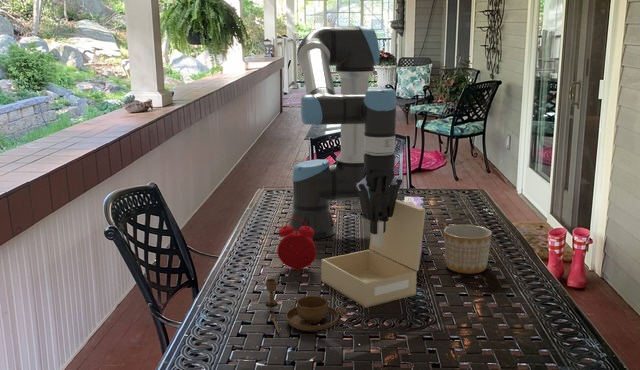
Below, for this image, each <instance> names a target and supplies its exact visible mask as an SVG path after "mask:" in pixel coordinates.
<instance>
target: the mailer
mask: <svg viewBox="0 0 640 370" xmlns="http://www.w3.org/2000/svg"><path fill="white" fill-rule="evenodd" d="M320 270H321V272H320V273H321V277H320V278H321V282H322V283H323V284H324V285H327V286H328V287H330V288H331V289H333V290H335V291H336V292H338V293H340V294H341V295H344V296H345V297H347V298H349V299H350V300H352V301H353V302H355V303H356V304H358V305H360V306H362V307H363V308H364V309H367V308H370V307H375V306H379V305H383V304H386V303H390V302H395V301H398V300H401V299H405V298H411V297H414V296H417V272H418V271H416V270H414V269H411V268H409V267H407V266H405V265H403V264H401V263H399V262H396V261H394V260H392V259H390V258H388V257H386V256H384V255H381V254H379V253H377V252H375V251H373V250H371V249H366V250H361V251H355V252H351V253H347V254H342V255H338V256H337V255H335V256H332V257H326V258H322V259H321V269H320Z"/></svg>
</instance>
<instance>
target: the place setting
mask: <svg viewBox="0 0 640 370" xmlns="http://www.w3.org/2000/svg"><path fill="white" fill-rule="evenodd" d="M265 285H266V286H265V287H266V290H267V292H269V296H268V298H269V300H268V301H266V302H265V304H266V306H269V307H273V306H277V305H278V301H277V300H274V298H275V297H274V292H275V291H276V289H277V279H275V278H267V279H266V280H265ZM328 304H329V302H328V300H327V298H325V297H322V296H318V295H307V296H303V297H300V298H299V299H297V301H296V306H294V307H291V308H290V309H289V310H287V312H286V313H285V320H286V322H287V324H289V325H290V326H291V327H292V328H295V329H297V330H299V331H304V332H320V331H323V330H326V329H328V328H331V327H334V326H335V325H336V324H337V323H338V321H339V318H340V315H342V316H343V317H344V318H345V319H348V316H347V310H346V309H345V308H343V307H339V308H338V309H335V308H334V307H331V306H329V305H328ZM342 312H343V313H342ZM328 313H330V314H331V315H332V316H333V317H334V318H335V319H334V320H332V321H331V322H327V323H325V324H318V325H317V323H319V322H321V321H322V320H323V319H324V318H325V317H326V316H327V314H328ZM268 316H269V317H268V318H269V319H270V320H271V321H272V322H273V324H274V326H275V327H274V328H275V330H276V331H277V333H278V334H279V333H280V329H279V326H278V324H277V322H276V319H277V317H276V315H275V312H273V311H272V312H269V313H268ZM315 324H316V325H315Z"/></svg>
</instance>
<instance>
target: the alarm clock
mask: <svg viewBox="0 0 640 370" xmlns="http://www.w3.org/2000/svg"><path fill="white" fill-rule="evenodd" d="M290 220H301V219H288V220H287V221H286V223H285V225H283V226H282V227H280V229H279V230H278V236H279V237H281V238H282V240H280V242H279V243H278V245H277V255H278V259H279V260H280V261H281V262H282V264H284V265H285V266H286V267H288V268H292V269H295V271H300V269H305V268H307V267H309V266H310V267H313V264H312V263H313V262H314V261H315V259H316V256H317V250H316V244H315V241H314V239H312V238H311V237H313V236H314V230H313V229H312V228H311V227H309V226H306V223H305V222H304V221H303V220H301V221H303V222H304V223H305V226H302V227H300V229H299V231H297V229H295V230H296V231H293V230H294V229H293V227H292V226H290V225H289V222H290Z"/></svg>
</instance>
